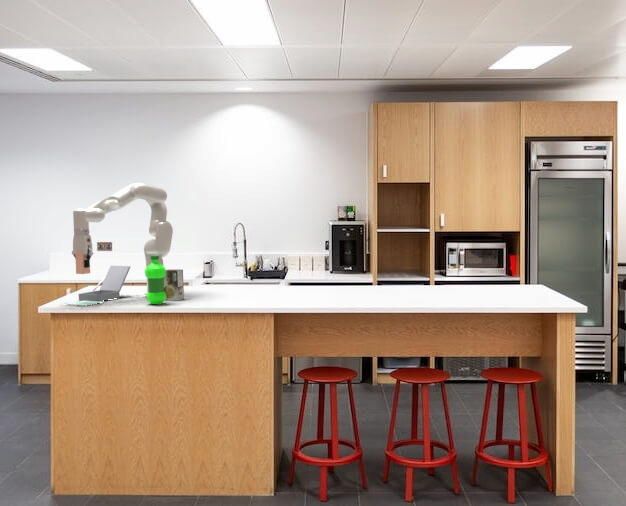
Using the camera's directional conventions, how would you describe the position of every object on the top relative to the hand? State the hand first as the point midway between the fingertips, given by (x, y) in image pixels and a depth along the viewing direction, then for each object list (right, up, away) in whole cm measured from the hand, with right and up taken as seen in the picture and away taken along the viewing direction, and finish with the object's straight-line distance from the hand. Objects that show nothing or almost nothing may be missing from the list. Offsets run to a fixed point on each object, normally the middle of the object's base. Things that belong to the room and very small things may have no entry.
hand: (83, 266), depth 376 cm
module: (0, -3, 0) cm, 3 cm away
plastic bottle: (+40, -19, -4) cm, 44 cm away
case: (+6, -18, +20) cm, 27 cm away
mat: (+1, -19, +2) cm, 20 cm away
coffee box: (+46, -18, +10) cm, 50 cm away
